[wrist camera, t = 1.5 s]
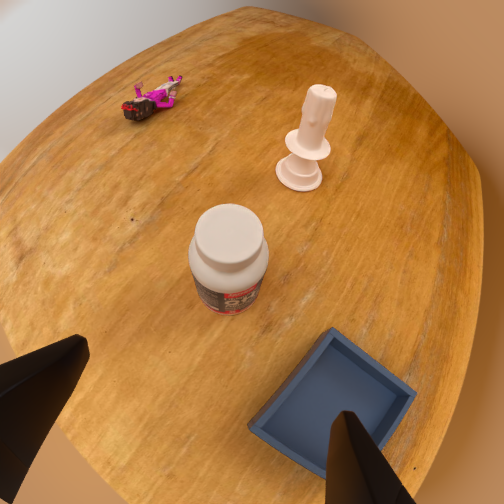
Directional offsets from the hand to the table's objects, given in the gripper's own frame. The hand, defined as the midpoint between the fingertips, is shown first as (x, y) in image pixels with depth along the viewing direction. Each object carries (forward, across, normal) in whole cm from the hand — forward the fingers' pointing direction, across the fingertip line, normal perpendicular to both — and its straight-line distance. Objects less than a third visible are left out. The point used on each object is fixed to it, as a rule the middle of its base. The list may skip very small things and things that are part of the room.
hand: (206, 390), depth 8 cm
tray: (+9, -10, +11) cm, 17 cm away
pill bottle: (+16, +2, +6) cm, 17 cm away
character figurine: (+34, +19, -10) cm, 40 cm away
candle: (+27, -2, -4) cm, 27 cm away
